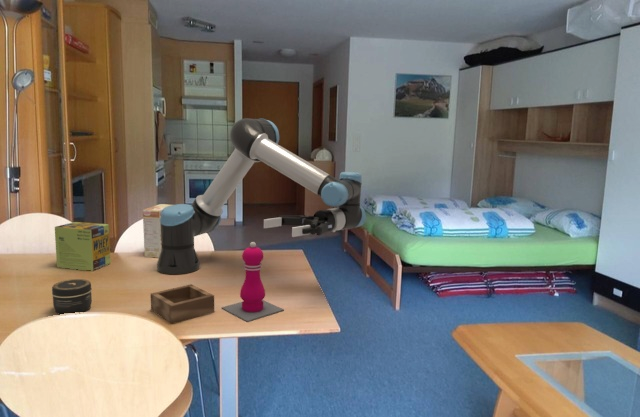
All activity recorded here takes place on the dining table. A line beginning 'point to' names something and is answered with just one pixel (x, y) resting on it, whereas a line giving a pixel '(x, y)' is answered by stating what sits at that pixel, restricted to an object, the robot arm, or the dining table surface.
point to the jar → (72, 296)
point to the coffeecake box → (152, 230)
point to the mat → (250, 316)
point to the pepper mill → (252, 280)
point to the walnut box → (182, 303)
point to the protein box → (82, 245)
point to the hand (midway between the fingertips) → (278, 227)
